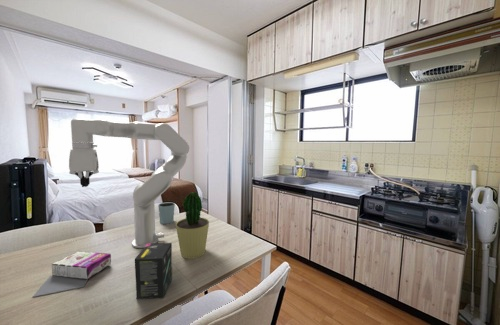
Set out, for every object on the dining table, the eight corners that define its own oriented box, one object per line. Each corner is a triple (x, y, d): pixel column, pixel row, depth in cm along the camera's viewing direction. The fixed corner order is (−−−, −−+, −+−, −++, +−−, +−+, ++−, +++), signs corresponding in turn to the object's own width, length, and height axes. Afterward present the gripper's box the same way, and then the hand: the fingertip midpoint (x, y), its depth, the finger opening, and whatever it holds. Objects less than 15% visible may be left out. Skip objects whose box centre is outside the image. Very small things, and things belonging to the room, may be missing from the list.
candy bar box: (111, 264, 89) (79, 261, 92) (111, 253, 89) (79, 250, 92) (86, 280, 78) (51, 275, 81) (86, 267, 78) (50, 263, 81)
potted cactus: (195, 241, 112) (194, 186, 109) (215, 250, 103) (215, 190, 100) (169, 253, 99) (168, 191, 97) (190, 264, 90) (189, 197, 88)
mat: (93, 268, 86) (93, 268, 86) (83, 287, 75) (83, 286, 75) (50, 276, 81) (50, 275, 81) (32, 297, 70) (32, 296, 70)
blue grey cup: (155, 223, 136) (155, 205, 135) (164, 218, 146) (164, 201, 145) (169, 225, 134) (169, 206, 133) (177, 219, 144) (177, 202, 143)
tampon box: (148, 279, 81) (147, 242, 79) (172, 278, 81) (172, 242, 80) (135, 300, 70) (133, 258, 68) (163, 298, 70) (162, 257, 69)
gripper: (104, 146, 101) (106, 183, 103) (65, 146, 95) (68, 185, 97) (100, 146, 94) (102, 186, 96) (58, 146, 88) (61, 189, 90)
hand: (85, 186), depth 96 cm, fingers closed
